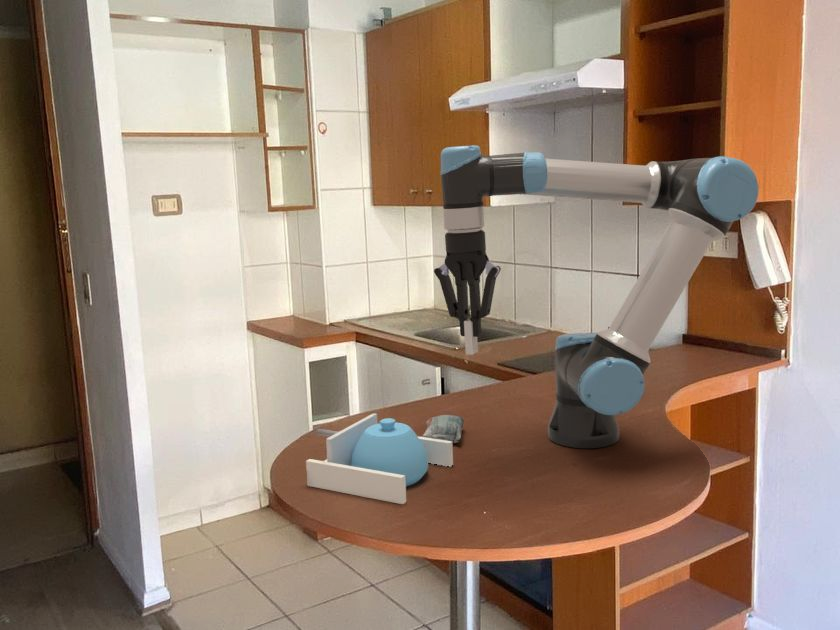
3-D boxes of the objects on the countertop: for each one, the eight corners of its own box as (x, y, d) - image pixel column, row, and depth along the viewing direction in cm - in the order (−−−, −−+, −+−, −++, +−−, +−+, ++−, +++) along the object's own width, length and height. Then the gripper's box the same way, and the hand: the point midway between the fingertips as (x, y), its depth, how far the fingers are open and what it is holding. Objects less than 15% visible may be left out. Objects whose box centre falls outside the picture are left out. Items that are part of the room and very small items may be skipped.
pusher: (379, 455, 161) (377, 413, 160) (333, 484, 147) (330, 439, 145) (343, 449, 166) (340, 409, 164) (295, 477, 151) (292, 433, 149)
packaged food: (421, 448, 166) (420, 426, 165) (426, 430, 177) (426, 409, 176) (461, 448, 165) (461, 426, 164) (464, 430, 176) (464, 410, 176)
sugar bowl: (366, 498, 141) (363, 437, 139) (341, 470, 155) (338, 415, 153) (441, 482, 147) (439, 424, 145) (410, 457, 160) (408, 404, 158)
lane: (453, 465, 155) (452, 441, 154) (403, 504, 138) (401, 477, 137) (364, 450, 165) (363, 428, 164) (307, 485, 148) (305, 460, 147)
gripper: (504, 227, 145) (510, 349, 149) (440, 229, 151) (448, 347, 155) (490, 231, 138) (497, 358, 143) (424, 233, 144) (433, 356, 148)
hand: (471, 352), depth 149 cm, fingers closed
